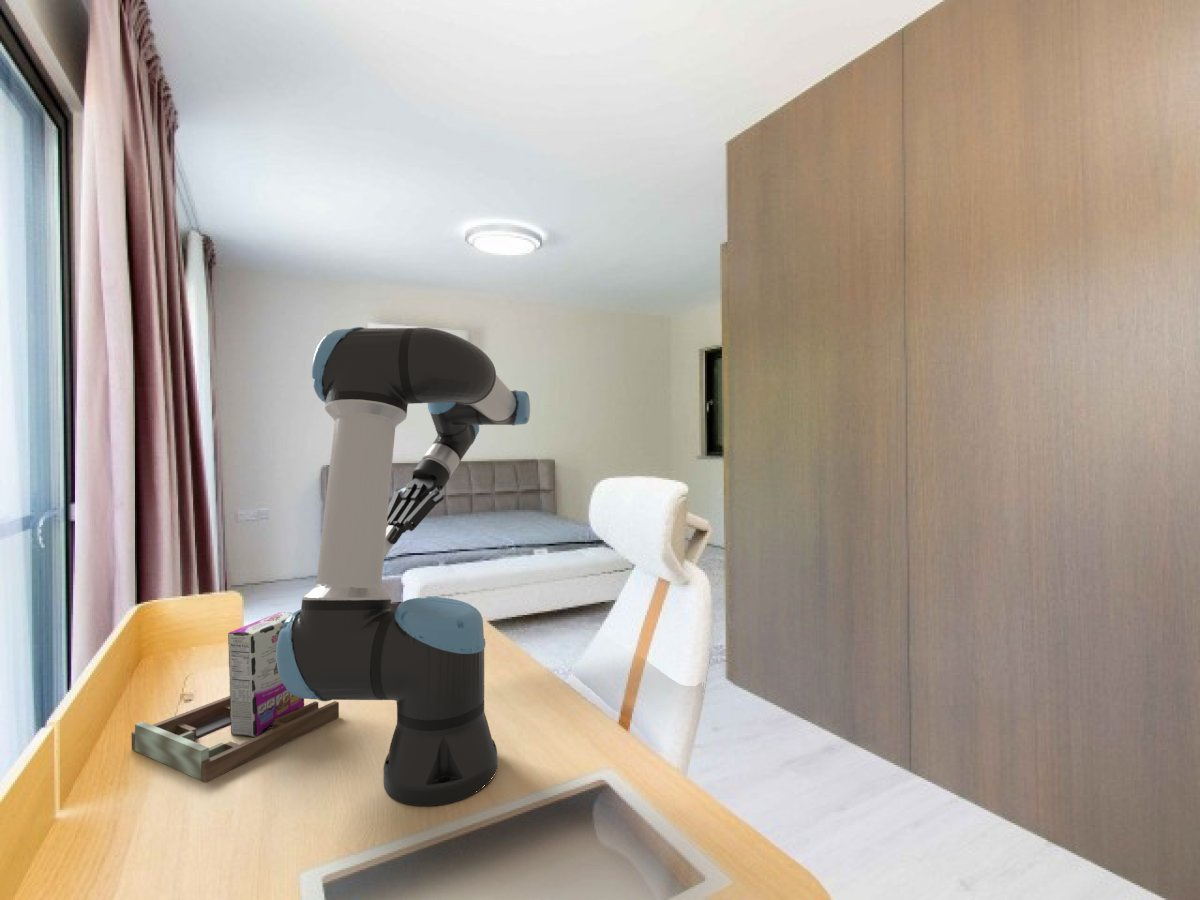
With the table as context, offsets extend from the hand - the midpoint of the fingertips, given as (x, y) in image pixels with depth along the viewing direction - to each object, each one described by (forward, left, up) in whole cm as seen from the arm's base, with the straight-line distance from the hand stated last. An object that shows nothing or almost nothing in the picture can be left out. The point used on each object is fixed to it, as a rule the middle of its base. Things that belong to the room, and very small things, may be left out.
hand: (377, 555), depth 116 cm
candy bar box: (0, +23, -24) cm, 33 cm away
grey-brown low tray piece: (0, +27, -23) cm, 36 cm away
